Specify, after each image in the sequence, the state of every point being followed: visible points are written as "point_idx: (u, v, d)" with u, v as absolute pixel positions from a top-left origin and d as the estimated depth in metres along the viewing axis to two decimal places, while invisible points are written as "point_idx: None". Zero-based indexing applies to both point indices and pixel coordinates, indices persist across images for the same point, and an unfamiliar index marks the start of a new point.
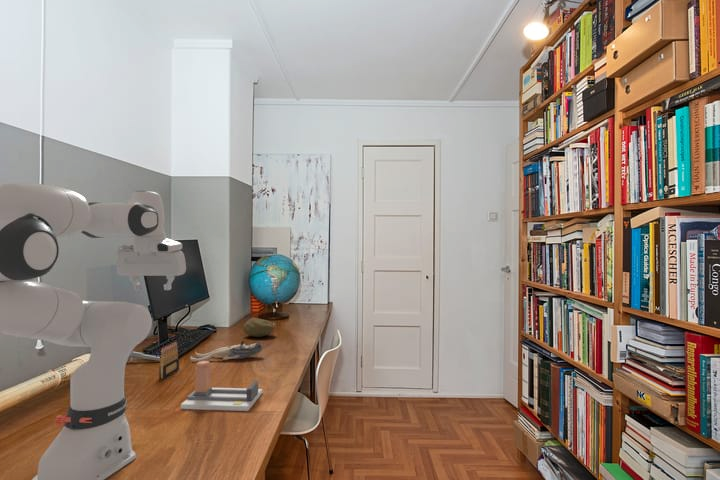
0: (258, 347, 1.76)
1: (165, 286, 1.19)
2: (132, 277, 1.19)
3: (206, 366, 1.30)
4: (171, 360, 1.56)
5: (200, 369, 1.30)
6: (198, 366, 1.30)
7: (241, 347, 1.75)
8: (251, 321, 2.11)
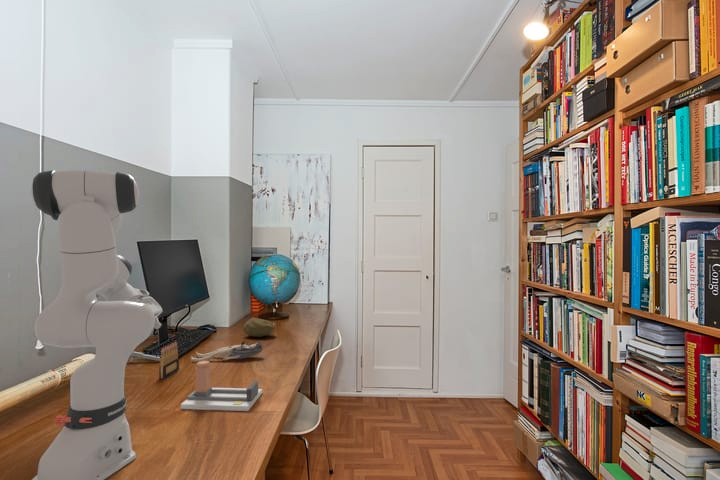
0: (259, 347, 1.76)
1: (158, 323, 1.36)
2: None
3: (206, 366, 1.30)
4: (171, 360, 1.56)
5: (200, 369, 1.30)
6: (198, 366, 1.30)
7: (242, 347, 1.75)
8: (251, 321, 2.11)
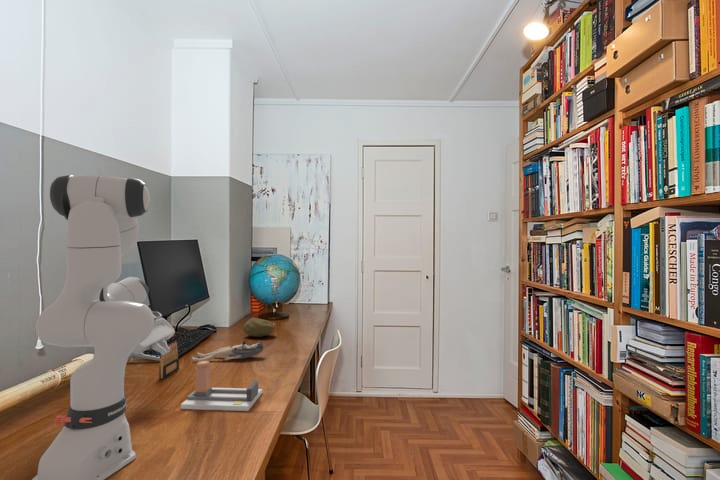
0: (260, 347, 1.76)
1: (167, 347, 1.33)
2: (158, 343, 1.31)
3: (206, 366, 1.30)
4: (171, 360, 1.56)
5: (200, 369, 1.30)
6: (198, 366, 1.30)
7: (243, 347, 1.75)
8: (251, 321, 2.11)
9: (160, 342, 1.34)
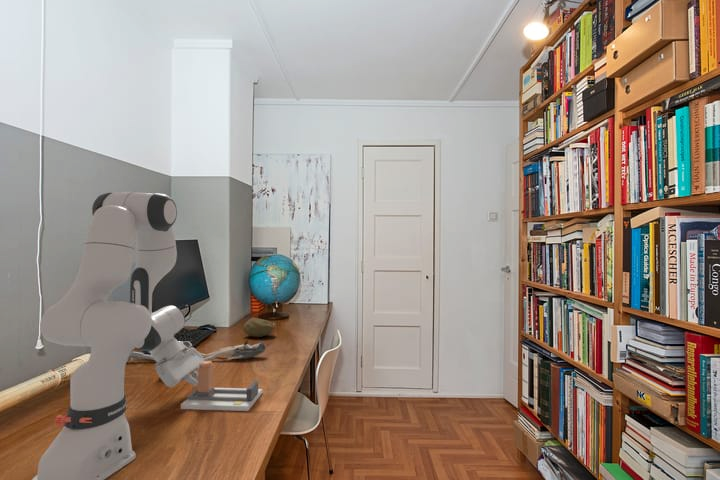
0: (262, 347, 1.76)
1: None
2: (190, 375, 1.30)
3: (209, 366, 1.30)
4: None
5: (203, 369, 1.30)
6: (201, 366, 1.29)
7: (245, 347, 1.75)
8: (251, 321, 2.11)
9: (191, 373, 1.33)
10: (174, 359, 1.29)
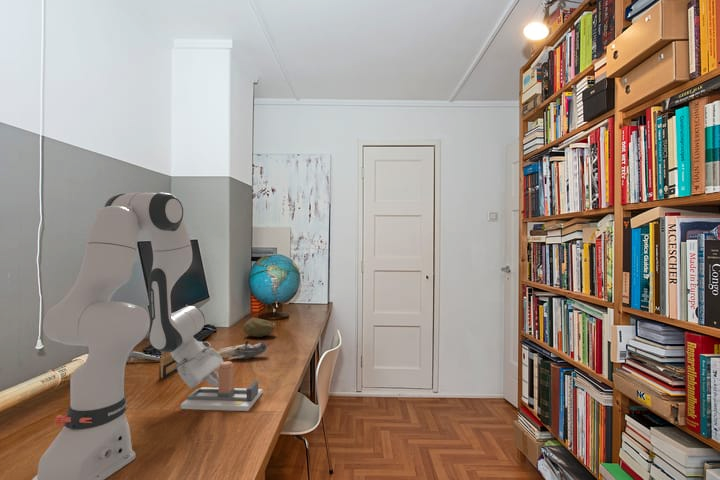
0: (263, 347, 1.76)
1: None
2: (210, 375, 1.30)
3: (230, 366, 1.30)
4: (171, 360, 1.56)
5: (223, 369, 1.29)
6: (221, 367, 1.29)
7: (246, 347, 1.75)
8: (251, 321, 2.11)
9: (212, 373, 1.32)
10: (195, 359, 1.28)
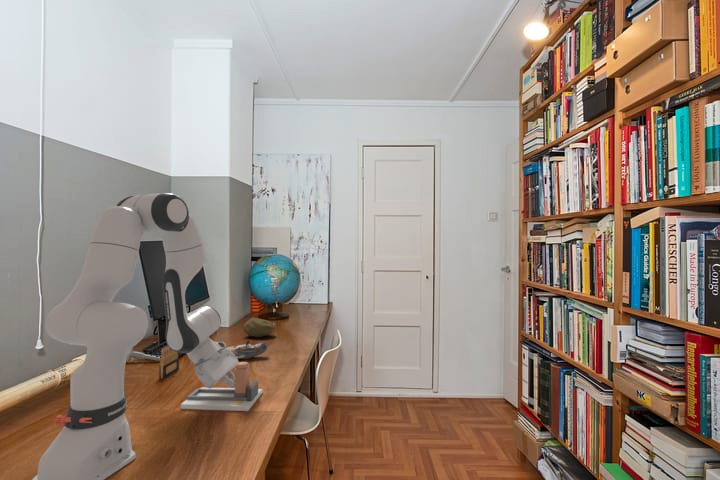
0: (263, 347, 1.76)
1: None
2: (227, 375, 1.29)
3: (246, 367, 1.29)
4: (171, 360, 1.56)
5: (240, 370, 1.29)
6: (238, 367, 1.29)
7: (247, 347, 1.75)
8: (251, 321, 2.11)
9: (228, 374, 1.32)
10: (211, 360, 1.28)
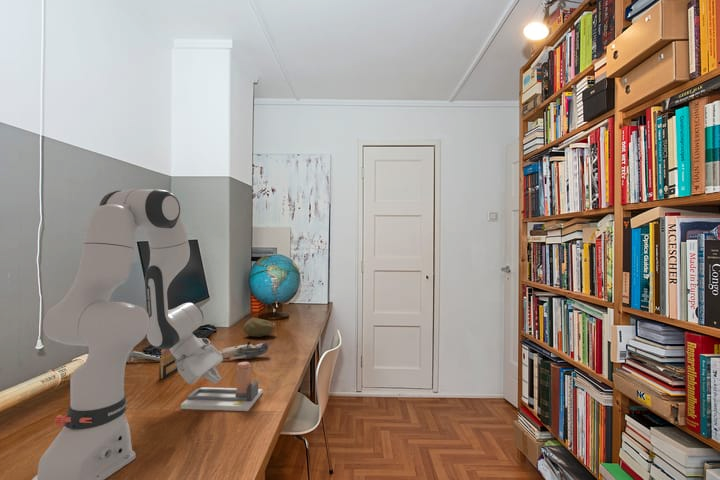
0: (265, 347, 1.76)
1: (218, 376, 1.31)
2: (209, 372, 1.29)
3: (248, 367, 1.29)
4: (171, 360, 1.56)
5: (241, 370, 1.29)
6: (239, 367, 1.29)
7: (248, 347, 1.75)
8: (251, 321, 2.11)
9: (211, 370, 1.32)
10: (194, 356, 1.28)
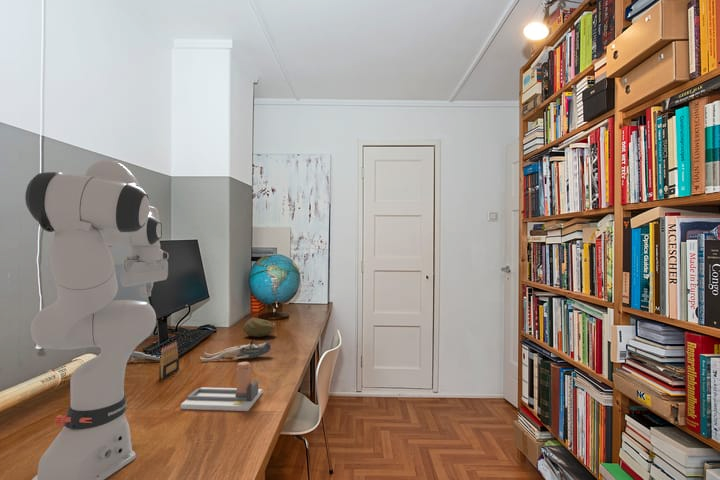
0: (267, 347, 1.76)
1: (149, 292, 1.30)
2: (145, 285, 1.28)
3: (248, 367, 1.29)
4: (171, 360, 1.56)
5: (241, 370, 1.29)
6: (239, 367, 1.29)
7: (251, 347, 1.75)
8: (251, 321, 2.11)
9: (148, 283, 1.30)
10: (144, 263, 1.26)
